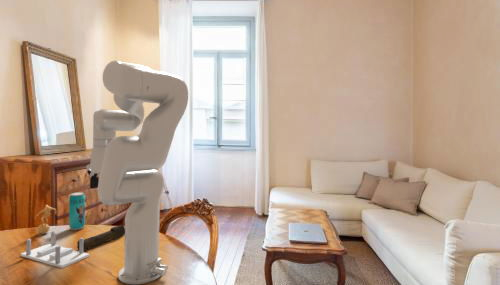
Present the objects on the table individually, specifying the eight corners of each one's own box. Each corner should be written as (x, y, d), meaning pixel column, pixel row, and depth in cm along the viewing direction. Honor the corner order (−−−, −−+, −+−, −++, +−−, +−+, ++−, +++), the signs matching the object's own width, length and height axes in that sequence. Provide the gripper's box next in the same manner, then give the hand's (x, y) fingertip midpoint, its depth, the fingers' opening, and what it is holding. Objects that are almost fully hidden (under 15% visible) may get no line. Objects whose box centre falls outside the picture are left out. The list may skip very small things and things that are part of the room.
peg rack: (89, 256, 95) (89, 239, 94) (62, 268, 86) (62, 249, 86) (49, 245, 102) (49, 230, 102) (20, 256, 93) (20, 238, 93)
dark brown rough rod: (83, 253, 97) (83, 240, 97) (76, 250, 99) (76, 237, 99) (129, 236, 114) (129, 225, 114) (122, 234, 116) (123, 223, 116)
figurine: (51, 229, 118) (51, 201, 118) (60, 232, 116) (60, 203, 115) (28, 236, 110) (29, 205, 110) (38, 238, 108) (38, 207, 108)
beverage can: (76, 231, 117) (76, 195, 116) (65, 229, 119) (66, 194, 118) (88, 227, 122) (88, 192, 122) (78, 225, 124) (78, 191, 124)
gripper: (130, 144, 106) (129, 189, 107) (96, 142, 112) (95, 185, 113) (113, 145, 99) (113, 193, 100) (78, 143, 105) (78, 188, 106)
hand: (103, 189), depth 106 cm, fingers open, 9 cm apart
